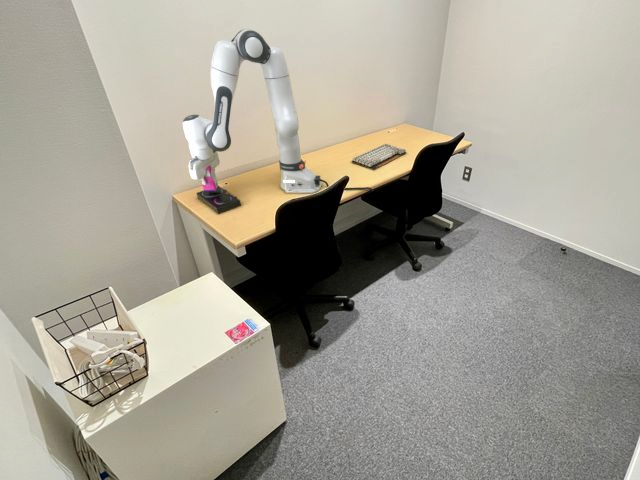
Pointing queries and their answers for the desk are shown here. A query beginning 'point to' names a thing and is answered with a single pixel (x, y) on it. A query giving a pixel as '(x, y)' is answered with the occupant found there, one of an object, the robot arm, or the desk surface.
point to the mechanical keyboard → (378, 156)
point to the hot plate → (219, 200)
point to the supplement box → (210, 180)
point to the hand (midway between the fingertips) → (209, 180)
